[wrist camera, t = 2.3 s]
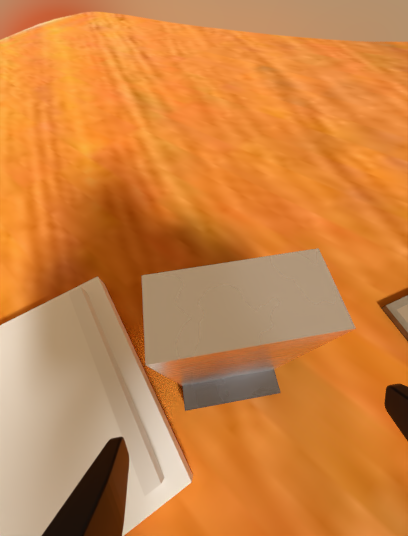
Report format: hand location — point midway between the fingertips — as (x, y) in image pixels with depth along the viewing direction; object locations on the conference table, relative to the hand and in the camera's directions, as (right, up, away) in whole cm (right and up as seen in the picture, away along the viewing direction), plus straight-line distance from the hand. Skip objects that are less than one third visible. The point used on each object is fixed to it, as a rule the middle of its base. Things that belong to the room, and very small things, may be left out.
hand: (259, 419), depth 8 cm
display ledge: (-13, -6, +9) cm, 17 cm away
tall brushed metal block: (0, -2, +11) cm, 11 cm away
